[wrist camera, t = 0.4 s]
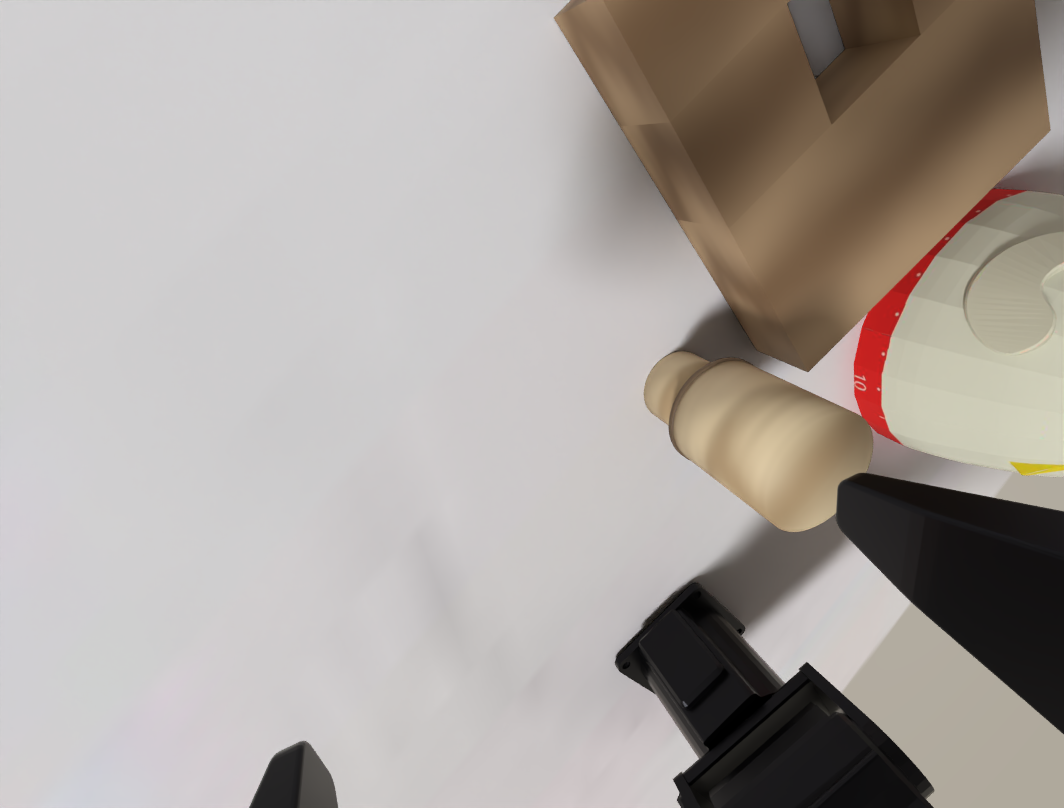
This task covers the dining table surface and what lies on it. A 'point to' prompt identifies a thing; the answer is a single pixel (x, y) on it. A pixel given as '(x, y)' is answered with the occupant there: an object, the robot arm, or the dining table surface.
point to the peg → (760, 435)
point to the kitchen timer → (975, 341)
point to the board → (816, 140)
